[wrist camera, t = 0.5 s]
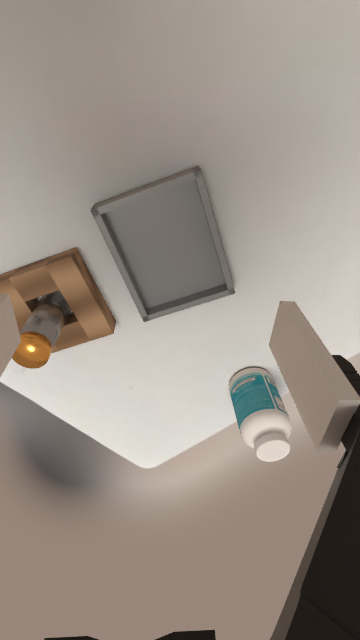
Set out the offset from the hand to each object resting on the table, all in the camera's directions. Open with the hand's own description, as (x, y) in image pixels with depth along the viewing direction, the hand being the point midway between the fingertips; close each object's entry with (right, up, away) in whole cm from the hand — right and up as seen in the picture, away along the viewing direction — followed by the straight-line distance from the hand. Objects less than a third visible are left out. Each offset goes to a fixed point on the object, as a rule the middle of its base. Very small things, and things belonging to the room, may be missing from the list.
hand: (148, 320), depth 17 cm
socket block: (-15, +3, +30) cm, 33 cm away
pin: (-15, +3, +30) cm, 33 cm away
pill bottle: (+13, -10, +40) cm, 43 cm away
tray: (0, +9, +26) cm, 28 cm away
